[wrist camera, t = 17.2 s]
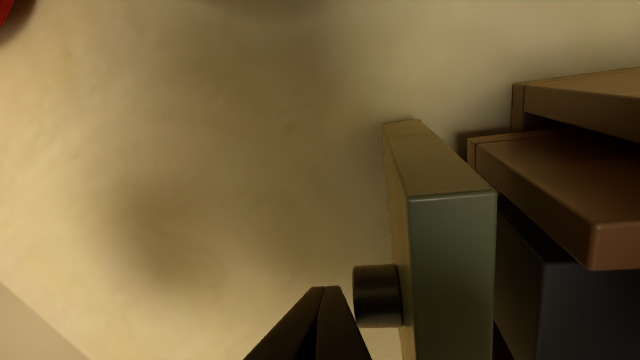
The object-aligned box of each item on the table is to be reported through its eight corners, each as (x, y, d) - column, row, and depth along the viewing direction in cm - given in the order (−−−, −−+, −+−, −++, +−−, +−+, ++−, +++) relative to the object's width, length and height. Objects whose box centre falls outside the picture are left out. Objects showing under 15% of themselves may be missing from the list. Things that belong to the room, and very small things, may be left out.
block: (598, 291, 10) (712, 399, 7) (479, 294, 11) (531, 395, 7) (615, 186, 9) (759, 255, 6) (481, 197, 10) (544, 264, 6)
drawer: (368, 328, 13) (371, 543, 7) (343, 127, 10) (319, 205, 5) (708, 321, 11) (1100, 610, 5) (780, 74, 9) (1702, 90, 3)
